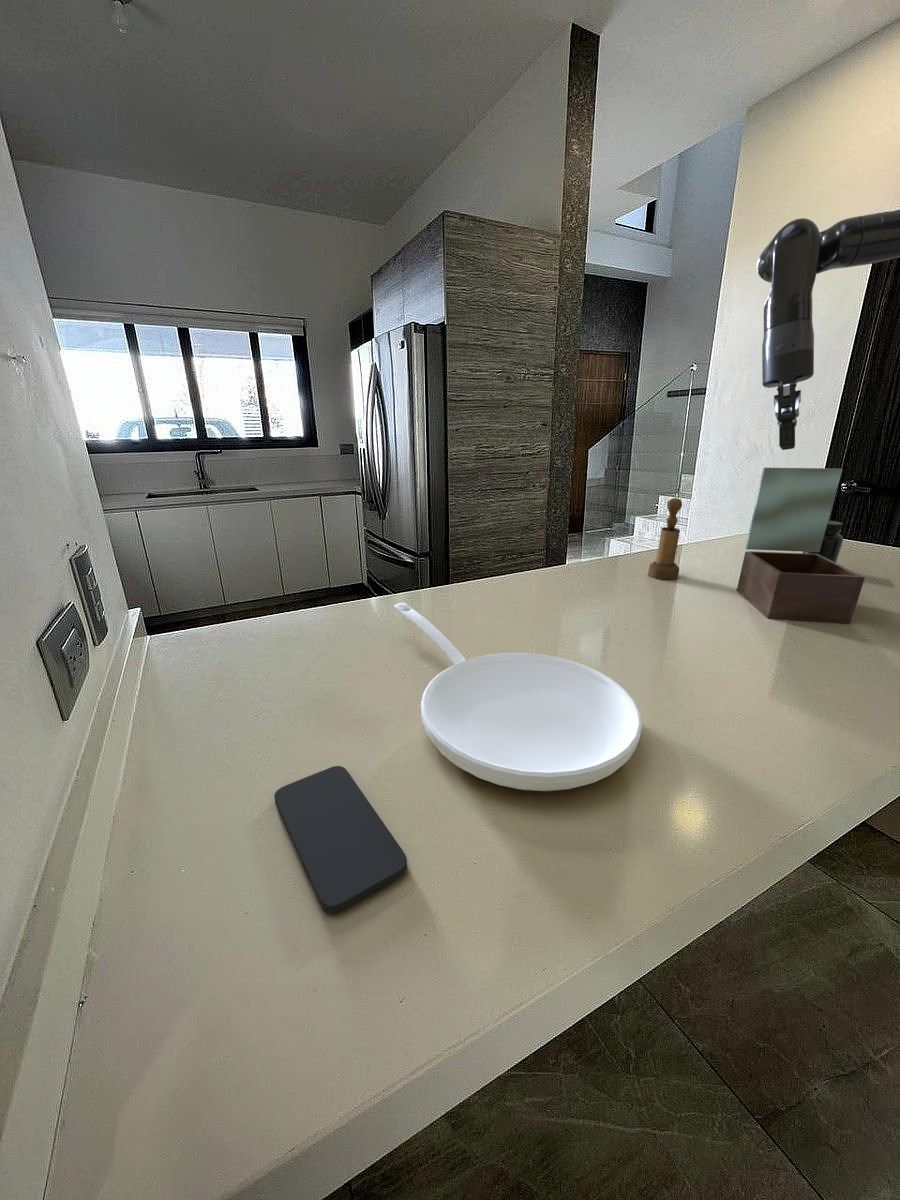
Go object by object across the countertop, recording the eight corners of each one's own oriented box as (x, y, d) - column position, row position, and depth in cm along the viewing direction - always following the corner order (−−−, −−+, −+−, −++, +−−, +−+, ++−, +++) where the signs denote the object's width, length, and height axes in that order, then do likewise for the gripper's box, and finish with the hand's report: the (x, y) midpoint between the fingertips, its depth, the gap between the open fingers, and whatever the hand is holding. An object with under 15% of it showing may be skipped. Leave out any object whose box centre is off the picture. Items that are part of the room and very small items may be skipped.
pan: (517, 852, 41) (521, 794, 39) (329, 656, 75) (325, 619, 73) (684, 746, 54) (694, 698, 52) (460, 620, 88) (460, 588, 86)
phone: (342, 762, 51) (413, 863, 39) (343, 768, 51) (413, 871, 39) (270, 791, 47) (325, 913, 35) (271, 797, 47) (326, 920, 35)
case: (850, 623, 86) (865, 577, 83) (767, 618, 88) (779, 573, 85) (806, 594, 100) (817, 553, 97) (736, 590, 103) (745, 550, 100)
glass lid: (842, 468, 91) (840, 468, 92) (764, 467, 93) (763, 467, 94) (819, 552, 97) (817, 551, 98) (746, 549, 99) (745, 548, 100)
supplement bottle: (798, 572, 115) (811, 522, 110) (798, 565, 120) (811, 517, 116) (833, 577, 111) (849, 526, 107) (832, 570, 116) (847, 521, 112)
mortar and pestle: (671, 581, 108) (685, 501, 102) (643, 576, 112) (655, 498, 106) (681, 575, 113) (695, 498, 106) (654, 569, 117) (666, 495, 110)
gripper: (814, 339, 77) (813, 442, 80) (813, 355, 89) (812, 446, 91) (759, 353, 82) (760, 450, 85) (764, 367, 93) (765, 453, 96)
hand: (787, 448), depth 88 cm, fingers open, 8 cm apart
